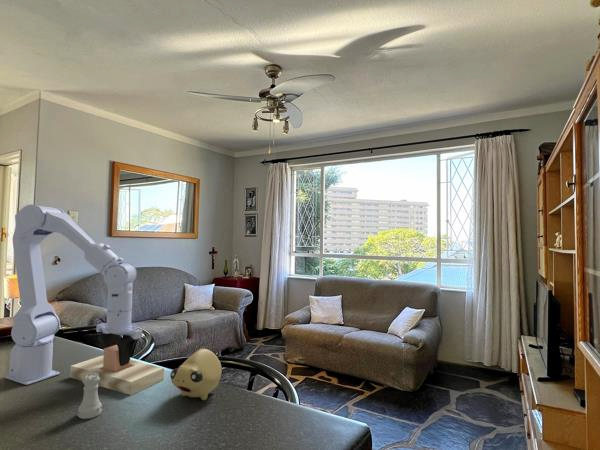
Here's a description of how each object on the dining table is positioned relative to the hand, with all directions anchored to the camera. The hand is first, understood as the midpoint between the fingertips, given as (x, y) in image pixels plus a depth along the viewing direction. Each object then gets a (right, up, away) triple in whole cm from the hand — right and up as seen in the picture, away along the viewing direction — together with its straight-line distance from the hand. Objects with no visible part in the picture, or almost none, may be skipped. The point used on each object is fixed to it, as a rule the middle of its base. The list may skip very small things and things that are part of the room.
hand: (117, 363), depth 92 cm
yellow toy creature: (+23, -4, -10) cm, 25 cm away
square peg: (0, -3, 0) cm, 3 cm away
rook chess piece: (+4, -4, -18) cm, 19 cm away
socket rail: (0, -4, 0) cm, 4 cm away
